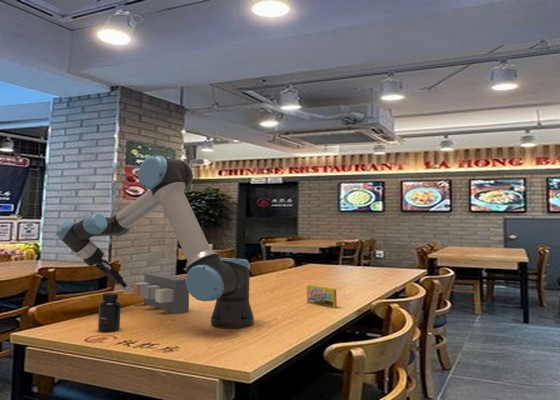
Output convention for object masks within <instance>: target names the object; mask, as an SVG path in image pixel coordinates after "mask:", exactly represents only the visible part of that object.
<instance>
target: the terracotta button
mask: <svg viewBox="0 0 560 400" xmlns="http://www.w3.org/2000/svg"><path fill="white" fill-rule="evenodd" d="M144 286H150V282H144V281H143V282H135V283H132V295H134V296H144Z"/></svg>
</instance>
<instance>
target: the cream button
mask: <svg viewBox="0 0 560 400" xmlns="http://www.w3.org/2000/svg"><path fill="white" fill-rule="evenodd" d="M155 301H156V302H159V303H165V302H173V301H174V288H166V289H156V290H155Z"/></svg>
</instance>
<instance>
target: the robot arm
mask: <svg viewBox="0 0 560 400" xmlns="http://www.w3.org/2000/svg"><path fill="white" fill-rule="evenodd" d="M137 178H138V182H139V184H140V185H141V186H142V187H143V188H145V189H147V191H146V192H145V191H144V193H142V194H141V195H140V196H139V197H136V199H135V200H134V201H132V202H131V203H129V204H128V205H126V206H125V207H124V208H122V209H121V210H120V211H118V212H117V213H115V214H114V215H113V216H110V217H108V216H107V217H106V216H104V215H102V214H101V213H98V212H96V213H92V214H90V215H88V216H86V217H85V218H84V219H82V220H80V221H79V222H76V223H75V222H73V221H71V220H67V221H65V222H63V223H62V224H61V225H60V226H59V227H58V228H57V229H56V230H55V234H56V236H57V237H58V238H59V239H60V240H61V242H63V243H64V244H65V245H66V246H67V247H68V248H69V249H70V250H71V251H72V252H74V253H75V254H76V255H75V256H76V257H77V258H78V257H79V258H80V259H81V260H83V262H84V263H85V264H86V265H87V266H89V267H93V266H95V268H96V269H97V270H98V271H100V272H101V273H103V274H104V276H106V277H107V278H108V279H109V280H110V281H111V282H114V284H115V285H116V286H118V287H119V288H120V289H122V291H124V293H126V294H127V295H129V294H130V293H131V292H132V291H133V287H131V286H130V285H129V284H128V283H127V282H126V281H125V280H124V278H123V276H122V275H121V274H120V273H119V272H118V271H117V270H116V268H114V266H113V265H112V263H109V262H108V261H107V260H106V259H103V257H104V255H105V252H104V251H103V250H101V248H100V247H98V245H97V244H95V242H93V240H92V239H91V238H94V237H120V236H126V235H127V234H129V232H130V230H131V228H132V226H134V225H135V224H136V223H139V221H141V220H142V219H144V218H145V217H146V216H148V215H149V214H150V213H152V212H154V211H155V210H156V209H158V208H160V206H162V208H163V210H164V213H165V215H166V217H167V219H168V222H169V223H170V226H171V228H172V231H173V233H174V235H175V237H176V238H177V241H178V244H179V246H180V247H181V249H182V252H183V254H184V257H185V258H186V261H187V264H186V267H185V270H186V272H187V274H186V276H185V277H186V287H187V290H188V292H189V295H191V297H192V298H193V299H195V300H197V301H201V302H212V301H216V302H215V304H214V308H213V309H212V310H213V311H212V312H211V313H212V314H211V317H210V325H211V326H212V327H216V328H222V329H239V328H246V327H250V326H253V325H254V324H255V319H254V318H255V316H254V313H253V310H252V306H251V303H250V272H251V269H250V262H249V260H248V259H245V258H234V257H232V258H231V257H220V255H219V253H218V252H215V251H213V250H212V249H211V247H210V244H209V242H208V240H207V238H206V236H205V234H204V231H203V229H202V227H201V226H200V223H199V221H198V218H197V217H196V215H195V212H194V210H193V208H192V207H191V204H190V202H189V200H188V198H187V196H186V194H185V192H186V191H187V190H188V189H189V188H190V186H191V185H192V183H193V179H194V174H193V170H192V168H191V166H190V165H189V164H188V163H187V162H185V161H184V160H181V159H175V158H172V157H171V158H170V157H166V156H164V155H163V156H162V155H150V156H148V157H146V158H145V159H143V161H142V162H141V164H140V166H139V169H138V173H137Z"/></svg>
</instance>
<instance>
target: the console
mask: <svg viewBox="0 0 560 400" xmlns="http://www.w3.org/2000/svg"><path fill="white" fill-rule="evenodd" d="M143 278H144V280H143V282H150V286H153V285H162V289H166V288H174V301H173V302H165V303H159V302H156V301H155V298H154V299H146V298H144V297H143V304H145V305H148V306H150V307H153V308H157V309H159V310H162V311H165V312H168V313H171V314H173V315H174V314H175V315H177V314H183V313H184V314H186V313H189V312H190V309H189V308H190V293H189V292H188V290H187V287H186V279H187V278H185V277H181V276H175V275H170V274H166V273H163V272H162V273H160V272H148V273H144V277H143Z"/></svg>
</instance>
